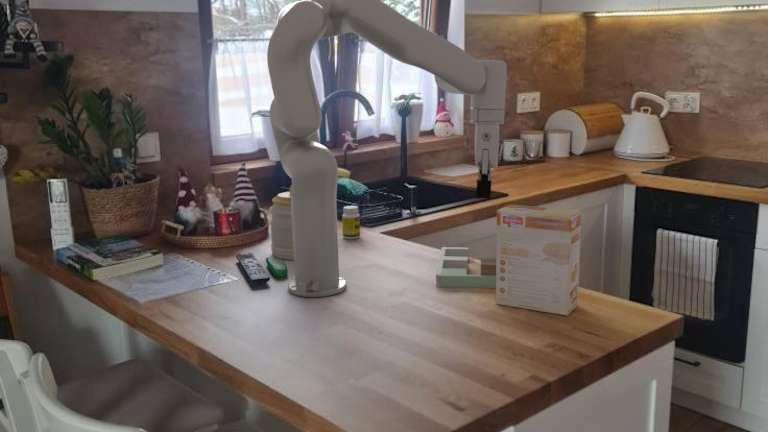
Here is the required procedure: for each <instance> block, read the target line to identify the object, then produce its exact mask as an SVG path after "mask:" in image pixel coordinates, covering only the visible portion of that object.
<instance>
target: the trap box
mask: <svg viewBox="0 0 768 432" xmlns="http://www.w3.org/2000/svg"><path fill="white" fill-rule="evenodd" d="M468 267H469V247H462V246H461V247H460V246H459V247H458V246H457V247H454V246H453V247H452V246H450V247H449V246H448V247H447V246H444V247H443V246H442V247H441V248H440V254H439V258H438V263H437V269H436V274H435V287H436V288H437V287H438V288H477V289H478V288H479V289H480V288H483V289H484V288H487V289H490V288H491V289H496V275H481V274H468V269H469V268H468Z"/></svg>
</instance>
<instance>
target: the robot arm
mask: <svg viewBox="0 0 768 432" xmlns="http://www.w3.org/2000/svg"><path fill="white" fill-rule="evenodd" d="M276 19H277V20H276V25H275V28H274V29H273V31H272V33H271V36H270V39H269V43H268V46H267V52H266V53H267V54H266V55H267V58H266V59H267V69H268V74H269V77H270V85H271V88H272V94H273V97H274V98H273V99H272V101H271V104H270V107H269V120H270V125H271V129H272V132H273V136H274V137H273V138H274V140H275V145H276V148H277V153H278V157H279V159H280V163H281V166H282V169H283V170H284V172H285V173H286V175H287V176H289V178H290V179H291V186H292V195H291V212H292V229H293V250H294V260H293V263H294V264H293V265H294V279H292V280H291V281H290V282H289V283H288V284H287V289H288V292H290V293H291V294H292V295H295V296H298V297H304V298H321V297H329V296H333V295H337V294H340V293H342V292H343V291H344V290H346V289H347V280H345V279H344V278H342V277H340V268H339V266H340V265H339V239H338V238H339V237H338V234H339V233H338V217H337V216H338V213H337V212H338V211H337V209H338V208H337V207H338V206H337V192H338V180H339V179H338V178H339V167H338V162H337V160H336V158H335V156H334V154H333V152H332V151H331V150H330V149H329V148H328V147H327V146H325V145H323V144H321V142H320V138H319V133H318V132H319V131H318V130H320V128H321V125H322V122H323V120H322V119H323V118H322V117H323V114H322V109H321V104H320V101H319V98H318V97H319V96H318V94H317V89H316V86H315V82H314V78H313V77H314V76H313V71H312V65H311V57H312V51H313V48H314V46H315V45H316V43H317V42H318V41H319V40H325V39H329V38H332V37H333V38H334V37H337V36H342V35H345V34H348V33H349V34H350V33H353V34H355V35H356V36H357V37H359V38H361V39H363V40H364V41H366V42H368V43H369V44H371V45H372V46H374V47H375V48H377V50H380V51H381V52H383V53H384V54H386V55H387V56H389V57H390V58H392V59H394V60H396V61H398V62H400V63H403V64H405V65H409V66H412V67H416V68H418V69H422V70H423V71H426V72H427V73H430V74H432V75H433V76H434V81H435V83H436V85H437V86H438V88H439V89H441V90H442V91H444V92H446V93H449V94H450V93H451V94H454V95H455V94H456V95H457V94H458V95H459V94H460V95H464V96H469V95H470V111H469V112H470V113H469V115H470V116H469V117H470V118H469V123H470V124H475V125H474V126H475V127H474V161H475V168H477V169H478V176H477V179H476V194H475V195H476V197H475V198H477V199H490V198H491V196H492V195H491V193H492V179H491V174H492V168H494V170H496V169H498V166H499V165H498V162H499V148H500V145H499V144H500V125H503V124H505V112H506V111H505V110H506V109H505V108H506V88H507V86H506V85H507V73H508V69H507V64H506V62H505V61H504V60H500V59H499V60H498V59H477V58H475V57H474V56H472V55H471V54H470V53H468V52H466V51H465V50H464V49H462V48H461V47H459V46H458V45H455V44H454V43H453V42H450V41H449V40H447V39H445V38H444V37H441V36H439V35H438V34H435V33H434V32H432V31H430V30H429V29H427V28H425V27H424V26H421V25H419V24H417V23H416V22H415V21H412V20H411V19H410V18H408V17H407V16H405V15H403V14H402V13H400V12H398V11H397V10H396V9H395V8H392V7H391V6H390V5H388V4H387V3H385V2H384V1H382V0H298V1H294V2H292V3H289V4H287V5H285V6H284V7H283V8H282V9H281V10H280V11H279V13H278V16H277V18H276Z"/></svg>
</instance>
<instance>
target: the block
mask: <svg viewBox="0 0 768 432" xmlns="http://www.w3.org/2000/svg"><path fill="white" fill-rule="evenodd" d="M480 275H496V257H480Z"/></svg>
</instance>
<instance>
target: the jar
mask: <svg viewBox="0 0 768 432" xmlns="http://www.w3.org/2000/svg"><path fill="white" fill-rule="evenodd" d="M291 195H292V185H290V186H289V188H288V191H283V192H280V193H278V194H276V196H275V197H273V198H272V199H271V202H272V203H273V205H272V206H270V207H269V208H268V211H269V213H270V215H271V219H270V221H269V224H270V236H271V244H270V247H271V249H270V250H271V252H272V256H273V257H274V258H276V259H280V260H288V261H291V260H292V261H294V250H293V229H292V212H291Z"/></svg>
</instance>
